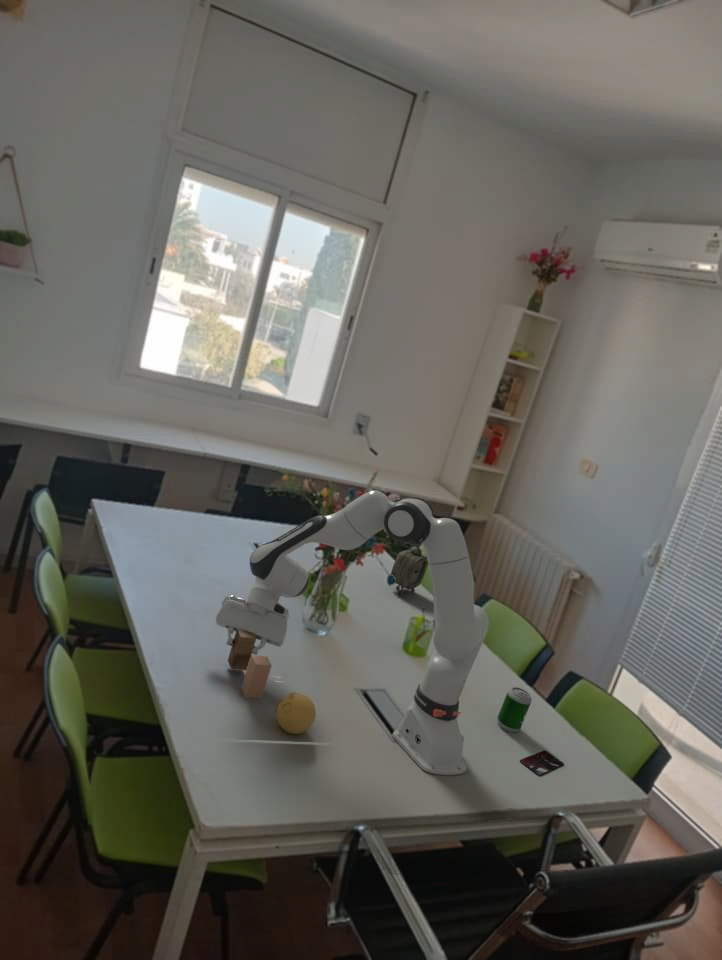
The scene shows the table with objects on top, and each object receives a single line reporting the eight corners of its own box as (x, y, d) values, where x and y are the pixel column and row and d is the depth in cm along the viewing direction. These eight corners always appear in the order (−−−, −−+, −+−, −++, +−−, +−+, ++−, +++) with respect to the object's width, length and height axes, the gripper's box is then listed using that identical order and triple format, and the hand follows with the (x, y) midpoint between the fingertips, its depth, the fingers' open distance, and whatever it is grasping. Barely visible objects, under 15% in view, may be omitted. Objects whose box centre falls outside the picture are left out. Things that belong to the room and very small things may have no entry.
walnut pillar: (246, 670, 206) (256, 638, 204) (231, 668, 204) (240, 636, 202) (242, 661, 210) (252, 630, 208) (227, 660, 208) (237, 628, 206)
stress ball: (311, 735, 191) (305, 697, 196) (323, 726, 183) (317, 686, 188) (274, 740, 187) (269, 700, 192) (285, 730, 179) (279, 689, 184)
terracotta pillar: (261, 698, 198) (271, 665, 196) (245, 697, 196) (255, 664, 194) (257, 689, 202) (267, 656, 200) (241, 687, 200) (251, 655, 198)
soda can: (514, 737, 222) (528, 702, 219) (492, 724, 225) (505, 689, 223) (522, 729, 228) (536, 695, 226) (500, 716, 232) (514, 683, 229)
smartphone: (565, 764, 216) (539, 775, 205) (564, 766, 216) (538, 777, 205) (545, 749, 220) (518, 760, 209) (544, 751, 220) (517, 762, 209)
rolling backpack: (402, 599, 304) (421, 543, 299) (384, 589, 308) (403, 534, 303) (417, 593, 316) (436, 539, 311) (400, 584, 321) (418, 531, 315)
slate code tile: (294, 689, 208) (295, 688, 208) (267, 687, 205) (268, 686, 205) (286, 674, 215) (287, 672, 215) (260, 672, 212) (261, 670, 212)
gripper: (226, 588, 211) (206, 632, 203) (293, 612, 210) (276, 657, 202) (226, 597, 216) (207, 640, 209) (292, 621, 215) (275, 665, 207)
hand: (241, 649), depth 205 cm, fingers closed on walnut pillar, 6 cm apart
